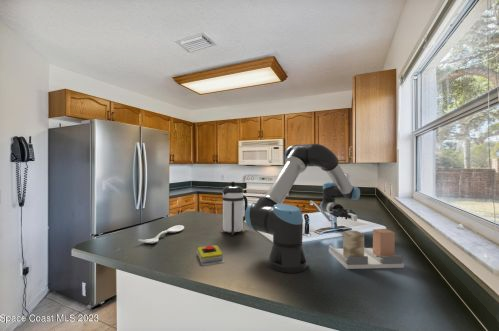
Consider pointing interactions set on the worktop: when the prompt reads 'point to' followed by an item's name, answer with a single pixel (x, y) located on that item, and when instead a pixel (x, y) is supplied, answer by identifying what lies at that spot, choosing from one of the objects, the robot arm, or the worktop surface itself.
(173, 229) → the spoon
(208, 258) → the emergency button
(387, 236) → the terracotta slider
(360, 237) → the maple slider
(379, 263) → the base
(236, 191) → the coffee press
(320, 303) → the worktop surface
